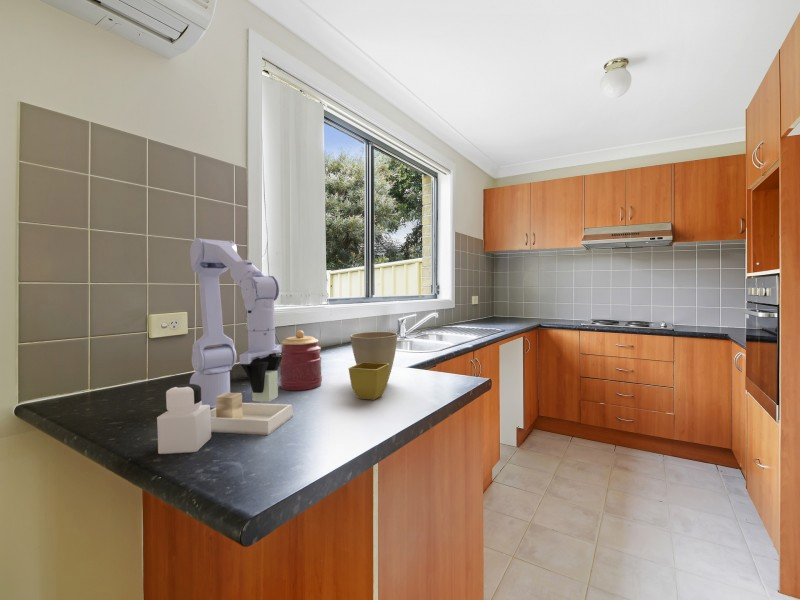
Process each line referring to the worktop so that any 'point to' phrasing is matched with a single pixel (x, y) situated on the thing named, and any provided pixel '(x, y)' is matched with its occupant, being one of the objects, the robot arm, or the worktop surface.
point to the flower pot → (369, 379)
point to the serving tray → (253, 419)
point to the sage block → (268, 388)
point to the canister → (300, 363)
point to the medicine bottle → (183, 421)
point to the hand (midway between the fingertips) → (263, 389)
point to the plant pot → (374, 347)
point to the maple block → (229, 405)
